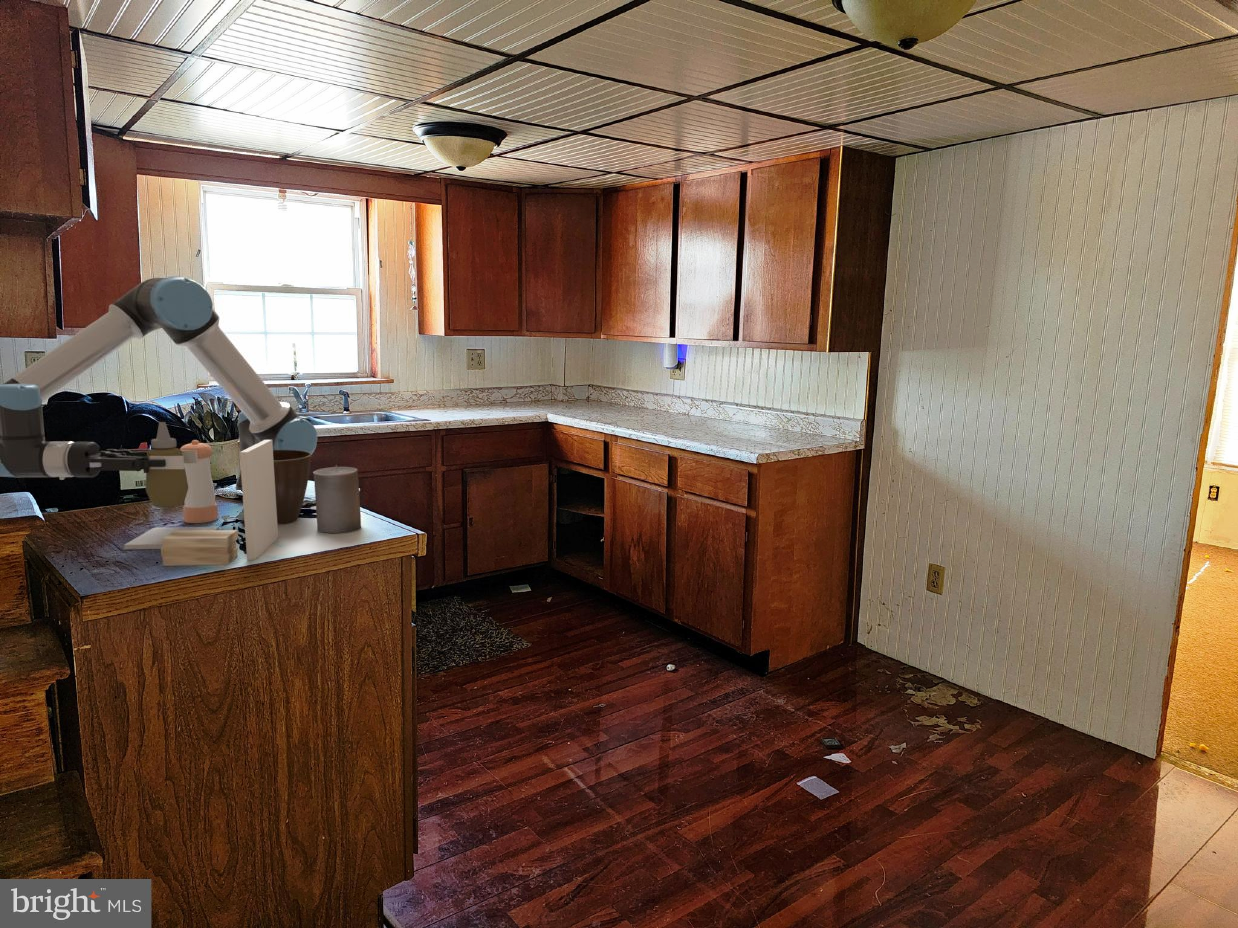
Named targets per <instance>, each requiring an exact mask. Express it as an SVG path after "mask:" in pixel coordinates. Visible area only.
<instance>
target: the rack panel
mask: <svg viewBox="0 0 1238 928" xmlns="http://www.w3.org/2000/svg"><path fill="white" fill-rule="evenodd" d="M239 461H240V468H241V478H242V492H243V497H242V503H243V517H244V518H243V519H244V533H245V548H246V549H245V550H246V560H247V561H249V560H250V561H251V560H252V561H254V560H257V558H259V557H260V556H261V555H262V554H263V553H264V552H265V551H266V550H267V549H268V548H270V547H271V545H273V544H274V543H275V542H276V541H277V540H279V529H278V526H279V525H278V524H277V510H276V494H275V477H274V461H273V445H272V440H264V441H261V442H259V443H257V444H255V445H253V446H251V447H249V448H247V449H245V450H243V451H241V452H240V451H239Z"/></svg>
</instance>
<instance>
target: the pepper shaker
mask: <svg viewBox="0 0 1238 928" xmlns="http://www.w3.org/2000/svg"><path fill="white" fill-rule="evenodd" d="M179 449H180V450H183V451H197V457H198V463H184V466H185V471H186V477H187V482H188V487H189V488H188V491H187V495H186V498H185V501H184V504H183V507H182V512H183V521H184V522H185V523H187V524H203V523H209V522H214V521H216V520H218V519H219V512H218V511H219V509H218V503H216V493H215V491H216V489H215V486H214V483H213V477H212V473H211V463H210V462H211V461H210V457H211V456H212V455H213V452H214V451H213V449H212V447H211V446H210V444H207V443H204V442H200V441H199V440H197V439H193V440H192V441H191V442H190V443H187V444H184V445H182V446H181V447H180V448H179Z"/></svg>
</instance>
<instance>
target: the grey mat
mask: <svg viewBox="0 0 1238 928" xmlns="http://www.w3.org/2000/svg"><path fill="white" fill-rule="evenodd" d="M176 530H221V529H220V526H177V527H175V526H174V527H173V526H172V527H170V526H169V527H168V526H166V527H165V526H163V527H162V526H161V527H159V526H158V527H153V528H151V529H148V530H147V531H145V532H144V533H142V534H141V535H139V536H137V537H134V539H132V540H130V541H128V542H126V543H125V544H124V550H161V548H162V547H163V540H162V538H164V537H166V536H168V535H169V534H171V533H173V532H174V531H176Z"/></svg>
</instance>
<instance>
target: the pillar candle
mask: <svg viewBox="0 0 1238 928" xmlns="http://www.w3.org/2000/svg"><path fill="white" fill-rule="evenodd" d="M358 471H359V470H358V469H357V468H356V467H353V466H352V467H350V466H338V465H337V464H336V465H335V466H332V467H325V468H324V467H323V468H319V469H316V470H314V471H313V472H312V474H313V479H314V481H313V483H314V493H315V495H314V497H315V499H314V500H315V512H316V524H317V531H318V532H319V533H329V534H344V533H345V534H346V533H351V532H353V531H357V530H358V529H359V528H361V527H362V521H361V520H362V519H361V518H362V515H361V502H360V501H361V500H360V486H359V484H360V483H359V472H358Z"/></svg>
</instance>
